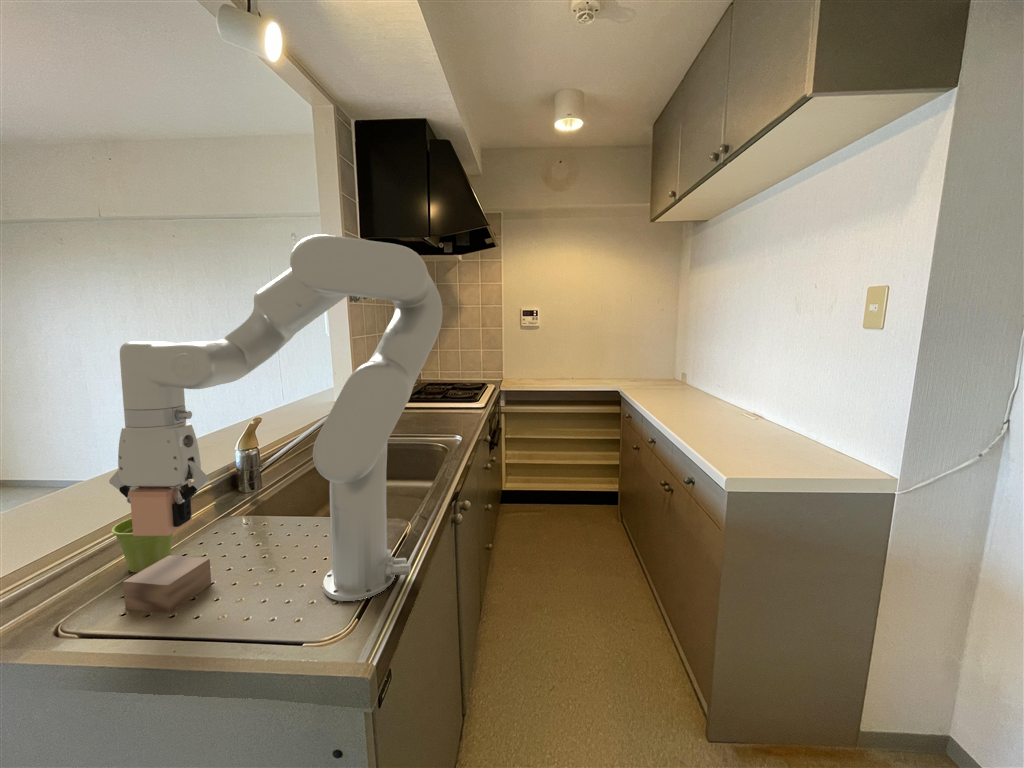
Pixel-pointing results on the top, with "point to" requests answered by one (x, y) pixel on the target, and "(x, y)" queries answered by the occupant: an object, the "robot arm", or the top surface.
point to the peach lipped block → (153, 511)
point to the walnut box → (167, 584)
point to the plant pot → (141, 546)
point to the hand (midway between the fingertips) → (163, 522)
